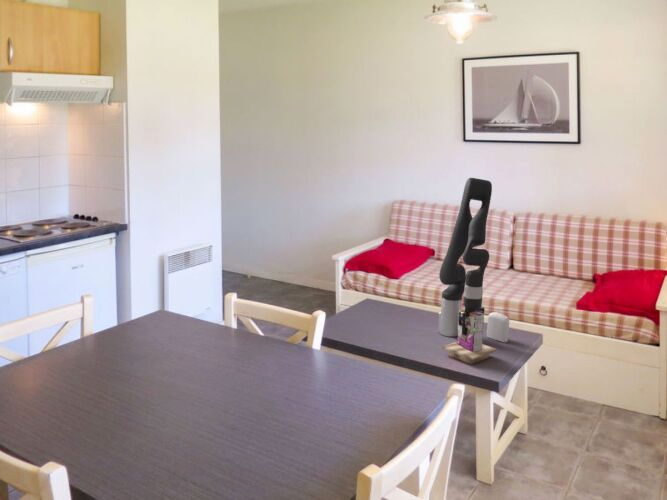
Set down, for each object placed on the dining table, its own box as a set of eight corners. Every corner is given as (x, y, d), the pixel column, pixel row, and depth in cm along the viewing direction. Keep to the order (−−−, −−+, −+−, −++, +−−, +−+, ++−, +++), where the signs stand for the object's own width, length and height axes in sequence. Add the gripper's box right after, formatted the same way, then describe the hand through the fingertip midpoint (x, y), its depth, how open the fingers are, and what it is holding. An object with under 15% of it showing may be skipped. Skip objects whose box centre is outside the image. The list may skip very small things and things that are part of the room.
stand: (441, 355, 278) (442, 346, 277) (465, 347, 288) (466, 338, 287) (471, 366, 266) (472, 357, 265) (495, 358, 276) (496, 349, 275)
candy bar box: (456, 344, 280) (458, 307, 276) (465, 342, 282) (467, 306, 278) (472, 352, 270) (475, 315, 266) (482, 351, 272) (484, 313, 269)
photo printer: (485, 337, 301) (487, 311, 299) (490, 335, 304) (492, 309, 301) (503, 343, 294) (505, 317, 291) (509, 341, 296) (511, 315, 294)
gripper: (476, 291, 278) (473, 327, 282) (454, 296, 269) (452, 334, 273) (491, 295, 273) (488, 332, 276) (469, 300, 264) (466, 339, 267)
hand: (470, 333), depth 274 cm, fingers open, 7 cm apart
